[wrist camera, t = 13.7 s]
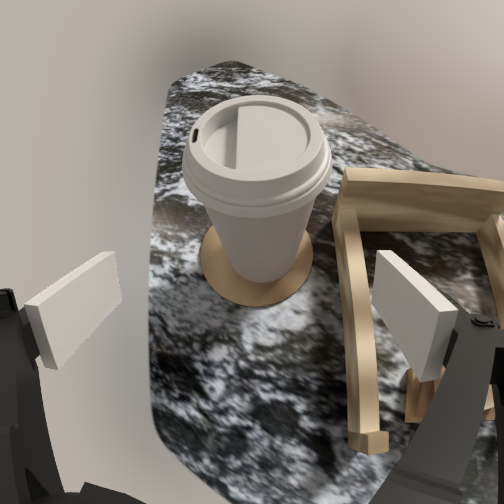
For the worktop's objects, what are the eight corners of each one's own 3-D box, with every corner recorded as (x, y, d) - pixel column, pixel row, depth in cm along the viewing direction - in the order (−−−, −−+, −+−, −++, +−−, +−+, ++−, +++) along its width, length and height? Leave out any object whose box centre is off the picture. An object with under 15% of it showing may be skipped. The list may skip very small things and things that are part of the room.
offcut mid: (423, 361, 24) (433, 357, 22) (488, 371, 23) (500, 367, 21) (414, 416, 22) (424, 416, 20) (481, 421, 20) (494, 420, 19)
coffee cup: (236, 201, 34) (218, 81, 21) (323, 227, 32) (349, 106, 19) (196, 278, 30) (144, 170, 17) (293, 313, 28) (312, 217, 15)
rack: (331, 219, 33) (344, 167, 26) (480, 222, 32) (511, 182, 25) (347, 446, 22) (377, 458, 15) (517, 404, 21) (567, 393, 14)
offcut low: (404, 370, 26) (413, 366, 24) (478, 367, 25) (488, 363, 23) (402, 422, 23) (410, 422, 22) (477, 414, 22) (488, 412, 21)
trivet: (269, 191, 35) (269, 189, 35) (335, 264, 30) (336, 262, 30) (181, 242, 33) (180, 240, 32) (240, 329, 28) (240, 328, 28)
